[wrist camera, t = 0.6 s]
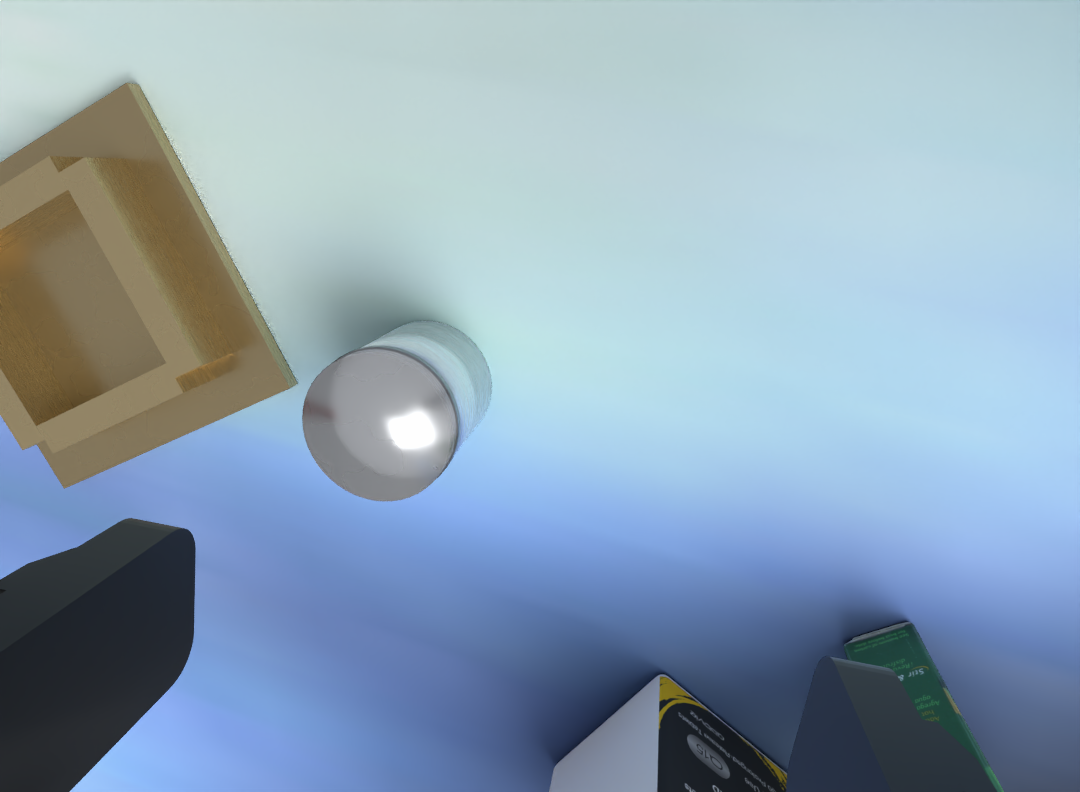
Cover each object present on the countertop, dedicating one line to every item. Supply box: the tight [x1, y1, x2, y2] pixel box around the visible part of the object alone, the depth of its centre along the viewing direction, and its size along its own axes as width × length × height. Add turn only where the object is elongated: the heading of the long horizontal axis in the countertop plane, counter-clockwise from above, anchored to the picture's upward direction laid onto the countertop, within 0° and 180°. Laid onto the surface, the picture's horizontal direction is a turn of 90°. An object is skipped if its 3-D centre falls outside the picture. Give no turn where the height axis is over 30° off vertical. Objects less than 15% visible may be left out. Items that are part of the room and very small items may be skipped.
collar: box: [0, 83, 297, 488], centre depth 28 cm, size 12×12×3 cm
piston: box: [302, 321, 492, 501], centre depth 25 cm, size 5×5×5 cm
